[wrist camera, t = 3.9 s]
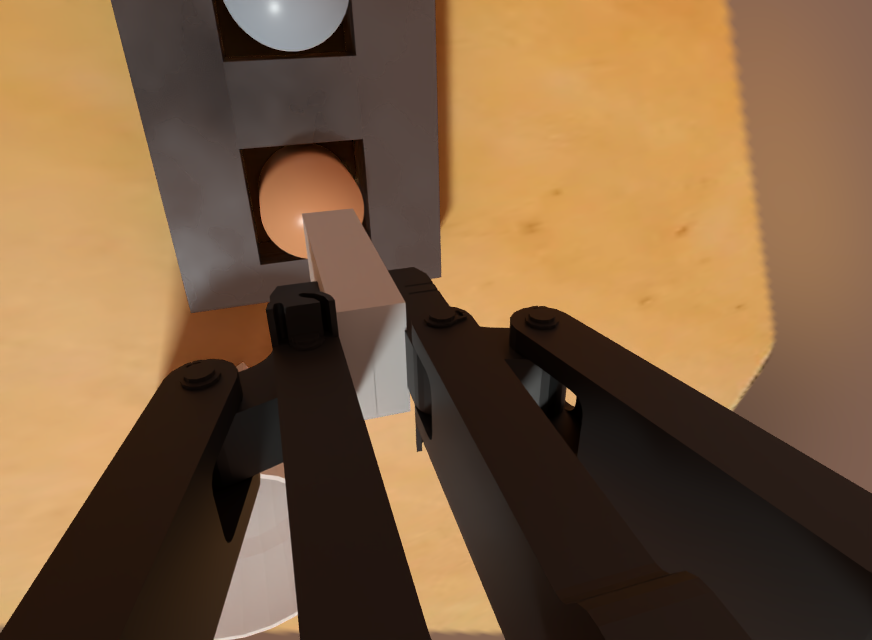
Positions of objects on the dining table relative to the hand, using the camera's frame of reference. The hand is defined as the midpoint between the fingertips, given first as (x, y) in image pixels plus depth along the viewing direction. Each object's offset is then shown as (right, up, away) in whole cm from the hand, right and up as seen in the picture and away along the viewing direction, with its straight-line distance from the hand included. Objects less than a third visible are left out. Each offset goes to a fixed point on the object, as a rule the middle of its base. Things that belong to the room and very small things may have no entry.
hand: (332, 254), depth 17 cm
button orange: (-3, +4, +10) cm, 12 cm away
